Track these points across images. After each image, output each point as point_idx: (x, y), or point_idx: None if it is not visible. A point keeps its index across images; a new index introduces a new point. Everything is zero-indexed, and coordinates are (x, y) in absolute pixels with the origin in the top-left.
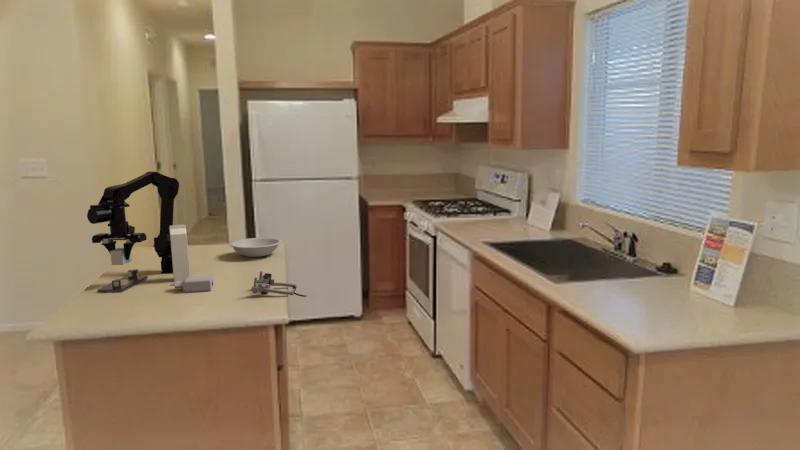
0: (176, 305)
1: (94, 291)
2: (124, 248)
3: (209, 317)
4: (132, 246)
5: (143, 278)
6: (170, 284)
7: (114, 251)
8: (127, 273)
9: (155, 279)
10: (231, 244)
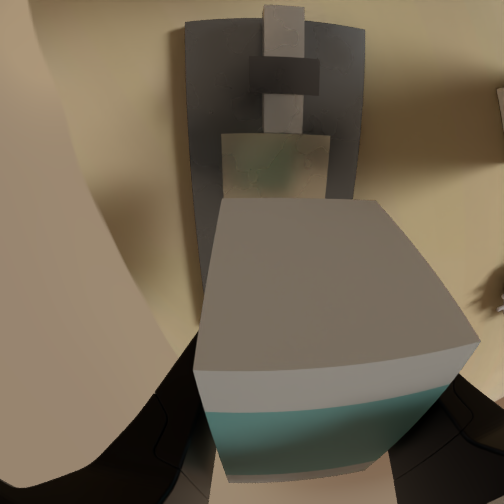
0: (473, 378)
1: (180, 308)
2: (397, 477)
3: (493, 397)
4: (497, 415)
5: (361, 89)
6: (501, 297)
7: (280, 477)
8: (267, 131)
9: (419, 78)
10: None
